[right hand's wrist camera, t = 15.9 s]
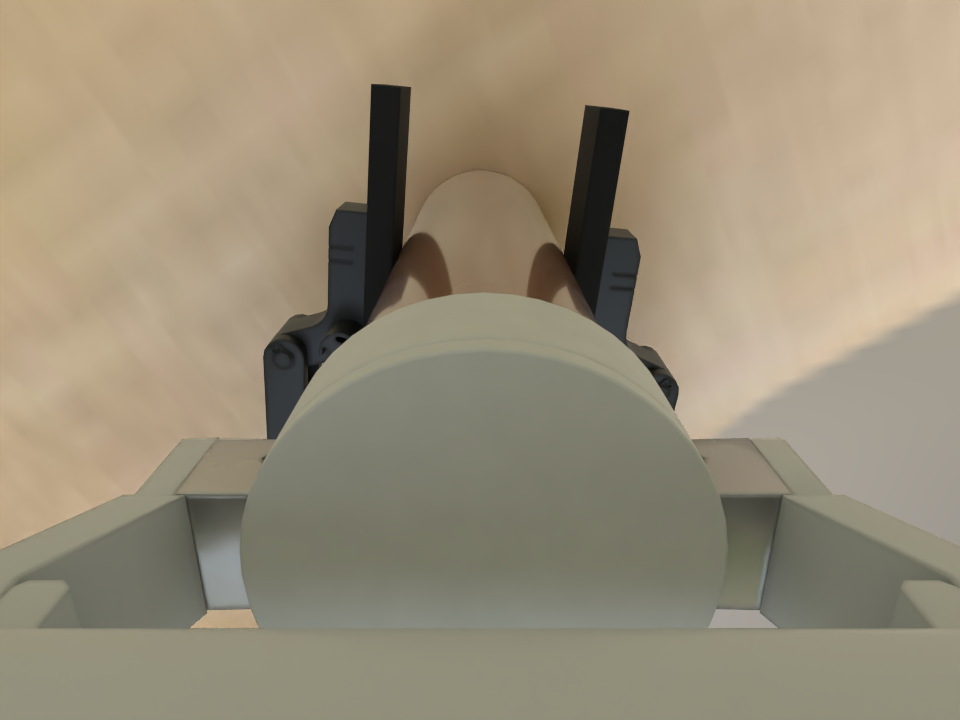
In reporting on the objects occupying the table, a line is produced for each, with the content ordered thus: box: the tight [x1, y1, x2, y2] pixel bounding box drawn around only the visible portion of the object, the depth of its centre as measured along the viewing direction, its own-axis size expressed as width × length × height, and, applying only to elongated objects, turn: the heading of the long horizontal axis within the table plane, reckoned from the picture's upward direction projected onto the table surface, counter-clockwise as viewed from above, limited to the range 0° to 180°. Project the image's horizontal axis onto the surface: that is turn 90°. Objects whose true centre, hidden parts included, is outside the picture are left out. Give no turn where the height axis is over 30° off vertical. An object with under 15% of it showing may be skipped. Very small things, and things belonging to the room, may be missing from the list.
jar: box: [365, 170, 598, 327], centre depth 18 cm, size 5×5×20 cm
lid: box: [239, 293, 728, 628], centre depth 9 cm, size 6×6×2 cm
